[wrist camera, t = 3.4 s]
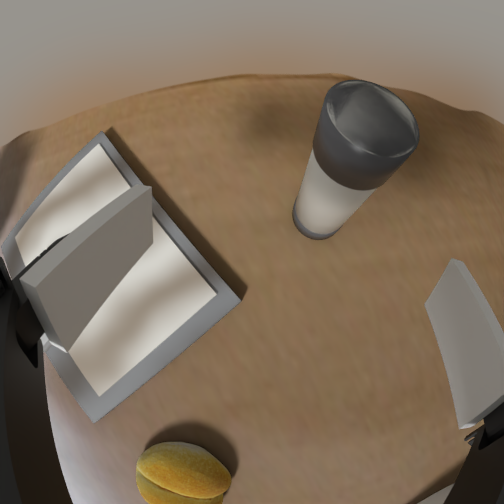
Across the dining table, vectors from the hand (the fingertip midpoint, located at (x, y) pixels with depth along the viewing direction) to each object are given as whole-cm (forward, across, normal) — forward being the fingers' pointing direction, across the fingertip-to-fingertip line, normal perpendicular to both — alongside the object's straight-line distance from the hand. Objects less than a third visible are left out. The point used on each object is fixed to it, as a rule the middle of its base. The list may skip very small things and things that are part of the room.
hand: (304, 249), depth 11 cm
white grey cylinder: (+11, +2, -4) cm, 12 cm away
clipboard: (+5, -17, -10) cm, 20 cm away
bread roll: (-6, -4, -22) cm, 23 cm away
